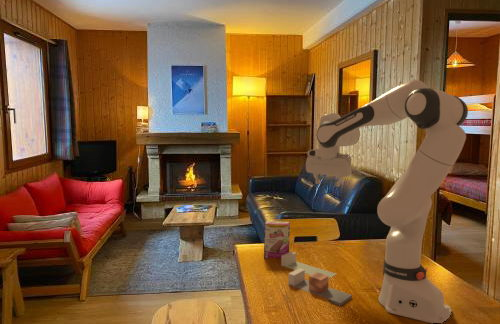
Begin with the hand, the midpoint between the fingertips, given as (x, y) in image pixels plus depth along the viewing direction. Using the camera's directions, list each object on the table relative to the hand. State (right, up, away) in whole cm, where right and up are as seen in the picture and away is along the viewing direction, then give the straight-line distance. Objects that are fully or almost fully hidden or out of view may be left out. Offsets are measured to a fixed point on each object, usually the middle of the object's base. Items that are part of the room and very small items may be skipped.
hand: (327, 185), depth 165 cm
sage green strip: (-9, -35, -7) cm, 37 cm away
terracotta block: (-8, -36, -25) cm, 45 cm away
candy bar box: (-21, -33, +9) cm, 41 cm away
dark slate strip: (-8, -37, -25) cm, 45 cm away
